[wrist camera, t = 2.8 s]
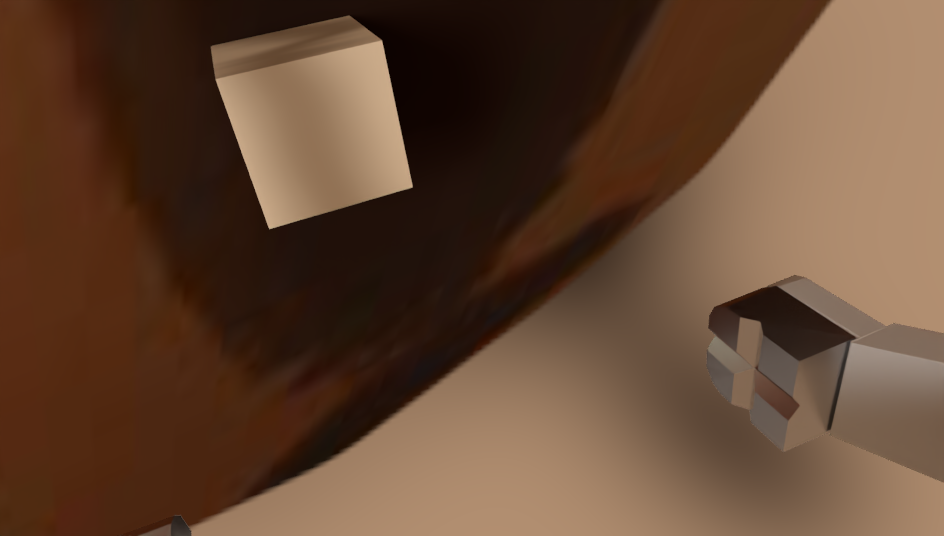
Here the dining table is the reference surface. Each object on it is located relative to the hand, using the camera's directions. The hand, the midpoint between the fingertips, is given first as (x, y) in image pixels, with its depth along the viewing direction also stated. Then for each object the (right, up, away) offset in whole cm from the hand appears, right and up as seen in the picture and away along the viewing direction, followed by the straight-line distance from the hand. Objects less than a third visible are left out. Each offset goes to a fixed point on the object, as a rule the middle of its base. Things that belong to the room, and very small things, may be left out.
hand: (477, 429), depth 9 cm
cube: (-7, +9, +15) cm, 19 cm away
